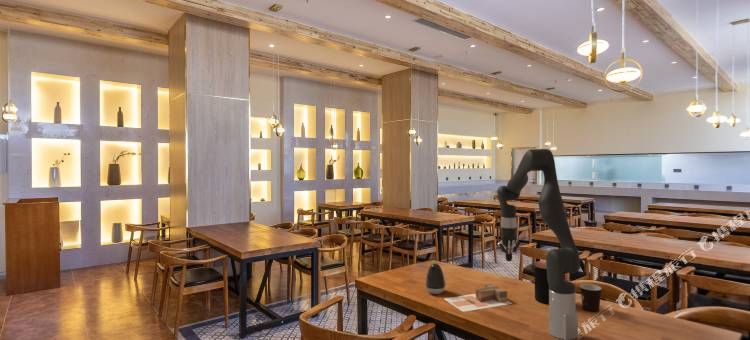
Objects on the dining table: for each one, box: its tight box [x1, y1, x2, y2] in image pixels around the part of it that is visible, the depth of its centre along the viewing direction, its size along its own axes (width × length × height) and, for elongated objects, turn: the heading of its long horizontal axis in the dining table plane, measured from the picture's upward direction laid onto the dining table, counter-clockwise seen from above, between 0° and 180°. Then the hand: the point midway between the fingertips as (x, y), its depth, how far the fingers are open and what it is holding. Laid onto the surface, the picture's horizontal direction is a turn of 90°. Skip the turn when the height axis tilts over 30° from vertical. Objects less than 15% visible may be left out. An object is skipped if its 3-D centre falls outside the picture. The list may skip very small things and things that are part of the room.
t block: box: [475, 283, 508, 303], centre depth 189 cm, size 12×12×5 cm
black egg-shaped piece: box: [425, 263, 446, 295], centre depth 201 cm, size 10×10×15 cm
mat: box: [443, 293, 514, 313], centre depth 187 cm, size 18×27×1 cm, turn 109°
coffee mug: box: [579, 283, 603, 313], centre depth 176 cm, size 12×9×10 cm
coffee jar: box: [533, 260, 549, 306], centre depth 186 cm, size 11×11×18 cm
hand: (508, 260), depth 193 cm, fingers closed
